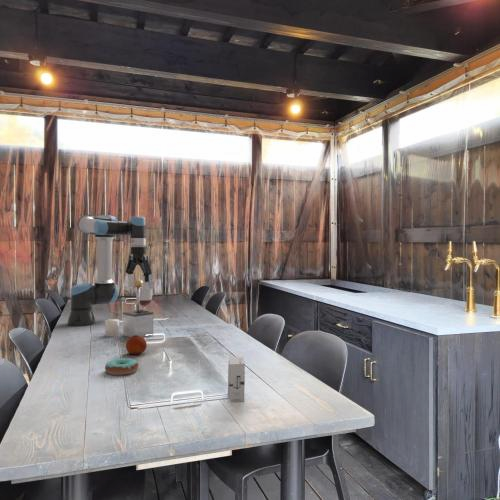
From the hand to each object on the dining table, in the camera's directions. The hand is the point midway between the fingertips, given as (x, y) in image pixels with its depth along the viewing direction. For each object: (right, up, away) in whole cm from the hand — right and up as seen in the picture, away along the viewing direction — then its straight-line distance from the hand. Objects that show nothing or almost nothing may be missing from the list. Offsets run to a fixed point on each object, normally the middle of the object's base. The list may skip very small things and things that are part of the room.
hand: (138, 287), depth 221 cm
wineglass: (-2, -25, +20) cm, 32 cm away
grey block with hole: (0, -25, +1) cm, 25 cm away
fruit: (+9, -26, -36) cm, 45 cm away
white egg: (-14, -25, +1) cm, 28 cm away
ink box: (+53, -27, -87) cm, 106 cm away
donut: (+10, -27, -61) cm, 67 cm away
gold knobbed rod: (0, -15, 0) cm, 15 cm away
